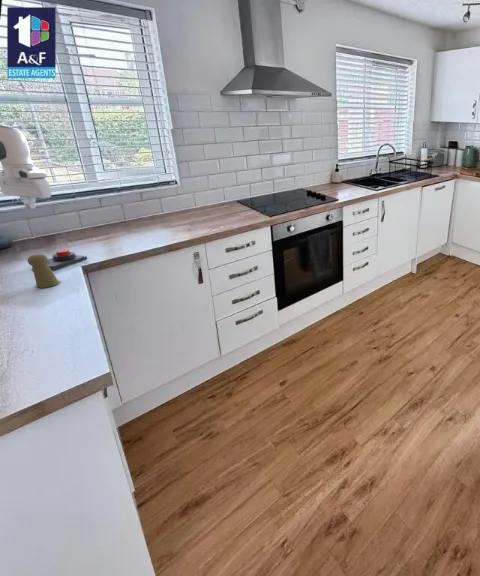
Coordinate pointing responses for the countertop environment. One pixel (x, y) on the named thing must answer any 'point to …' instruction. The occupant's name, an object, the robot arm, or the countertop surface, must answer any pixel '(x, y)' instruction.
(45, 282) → the olive brown upright piece
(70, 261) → the dark grey base
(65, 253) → the power button
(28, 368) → the countertop surface
